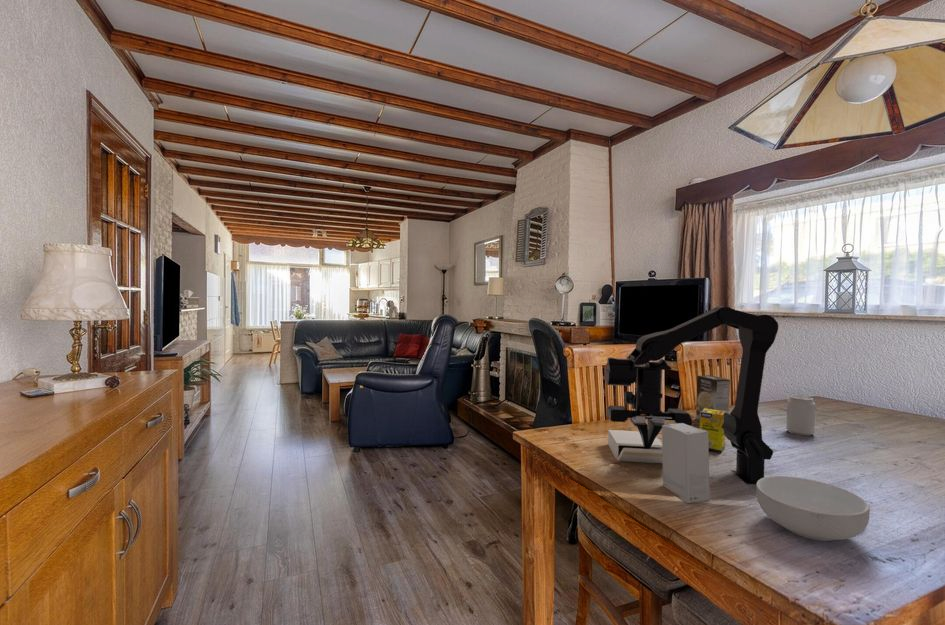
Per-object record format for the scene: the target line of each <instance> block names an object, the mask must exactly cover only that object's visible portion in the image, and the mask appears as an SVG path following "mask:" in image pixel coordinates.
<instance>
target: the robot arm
mask: <svg viewBox="0 0 945 625" xmlns="http://www.w3.org/2000/svg"><path fill="white" fill-rule="evenodd" d="M722 325H725V326H727V327H731V328H734V329H736V330H738V338H739V342H740V345H741V348H742V352H741V353H742V354H741V362H740V367H739V374H738V382H737V388H736V396H735V402H734V407H733V408H732V410H731V412H729V413H726V412H724V422H723V425H722V426H721V428H723V429H724V435H725V438H726V439H727V440H728V441H730V442H729V443H730V444H731V447H732V448H734V449H736V460H735V461H736V462H735V463H736V464H735V466H736V468H735V470H733V469H732V470H730V471H731V472H732V474H734V475H735V476H737V477H738V478H739V479H741V481H742V482H744V483H746V484H747V483H748V484H757V481H758V480H760V479H762V478H764V477H765V461H766V460H771V459H772V457H773V454H774V450H773V449H772V448H771V447H770V446H769V445H768V444H767V443H766V442H765V441H764V440H763V430H762V429H763V427H762V423H761V420H760V416H759V412H758V410H759V404H760V397H761V390H762V384H763V377H764V369H765V362H766V356H767V353H768V351H769V349H770V348H771V347H772V346H773V344H774V343H775V340H776V338H777V335H778V331H779V323H778V321H777V320H776V319H775V317H773V316H772V315H769V314H761V313H760V314H758V313H749V312H745V311H742V310H737V309H735V308H731V307H730V306H722V305H720V306H719V305H718V306H715V307H713V308H712V309H710V310H708V311H707V312H705V313H702V314H700V315H698V316H696V317H694V318H692V319H690V320H687V321H685V322H683V323H681V324H678V325H676V326H674V327H672V328H669V329H667V330H662V331H656V332H653V333H649V334H646V335H642V336H640V337H639V338H638V339H637V340H636V343H635V348H634V349H633V350H632V352H631V353H629V355H628V356H627V357H626V358H615V357H607V359H606V360H607V361H606V365H605V368H604V380H605V381H604V382H605V385H606V386H618V387H620V386H622V387H623V386H624V387H631V386H632V384H634V383H635V382H636V388H635V393H634V392H633V391H626V390H625V391H624V392H623V404H624V405H629V406H630V405H631V409H627V408H626V407H625V406H624V405H611V404H610V405H608V406H607V408H606V409H607V410H606V411H607V412H606V416H607V418H608V419H609V421H610V422H614V423H615V422H617V423H620V422H621V423H625V422H626V421H627V420H628V419H629V421H630V423H631V424H632V425H634V426H635V427H636V428H637V430H638V431H639V432H640V435H641V439H642V442H643V445H644V447H643V449H651V446H652V444H653V442H654V440H655V438H656V437H658V435H659V433H660V432H662V425H666V424H665V422H666V421H674V422H675V424H677V423H684V424H686V425H689V426H693V425H692V422H693V417H692V415H691V414H690V413H689V412H687V411H686V410H685V409H682V408H668V409H667V411H663V410H662V399H663V393H662V388H663V387H662V386H663V385H662V384H663V383H662V382H663V371H665V370H666V371H671V370H672V367H671V366H670V365H669V364H668V363H667V362H666V360H665V359H663V358H664V357H666V356H667V355H669V354H670V353H672V352H673V351H674V350H675V349H676V348H677V347H678V346H680V345H681V344H683V343H685V342H687V341H689V340H692V339H694V338H696V337H699V336H701V335H703V334H705V333H707V332H710V331H712V330H714V329H716V328H718V327H721V326H722ZM646 420H647V423H646Z"/></svg>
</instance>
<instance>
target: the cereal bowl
mask: <svg viewBox="0 0 945 625" xmlns="http://www.w3.org/2000/svg"><path fill="white" fill-rule="evenodd" d="M755 485H756V488H755V489H756V499H757V503H758V504H759V507H760V508H761V510H762V512H764V514H766V516H767V517H768V518H769V519H770V520H772V521H774V522H775V523H776V524H778V525H780V526H781V527H784V528H785V529H787V530H788V531H790V532H791V533H793V534H796V535H798V536H800V537H803V538H806V539H809V540H813V541H818V542H819V541H820V542H832V541H835V540H836V541H839V540H847V539H848V540H849V539H851V538H852V539H853V538H856V537H857V536H859V535H861V534H862V533H863V532H865V530H866V529H867V526H868V525H869V522H870V521H869V520H870V504H868V502H867V501H866V500H865V499H864V498H863V497H861V496H859V495H857V494H855V493H854V492H852V491H849V490H847V489H845V488H842V487H839V486H836V485H833V484H830V483H826V482H823V481H818V480H814V479H809V478H803V477H796V476H786V475H785V476H784V475H772V476H764V478H762V479H760V480H758V481H757V483H755Z"/></svg>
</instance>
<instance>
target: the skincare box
mask: <svg viewBox="0 0 945 625" xmlns="http://www.w3.org/2000/svg"><path fill="white" fill-rule="evenodd" d="M661 436H662V438H661V443H662V453H663V464H662V486H663V487H665V488H666V489H667V490H668V491H671V492H672V493H674V494H675V497H677V499H680V500H681V501H683V502H685V503H687V504H693V503H706V502H707V503H709V502H710V461H709V460H710V455H709V452H710V451H709V448H708V432H707V431H704V430H701V429H700V428H698V427H695V426H693V425H691V426H689V425H686V424H684V423H668V424H665V425H662V429H661Z"/></svg>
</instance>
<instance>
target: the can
mask: <svg viewBox="0 0 945 625" xmlns="http://www.w3.org/2000/svg"><path fill="white" fill-rule="evenodd" d="M786 401H787V402H786V404H787V406H786V426H785V427H786V430H787V431H788V432H789V433H791V434H793V435H797V436H805V437H808V436H812V435H813V434H815V432H816V431H815V430H816V428H815V427H816V405H817V404H816V403H815V401H814V398H812V397H809V396H805V395H797V394H796V395H790V396H789V398H788V399H787V400H786Z"/></svg>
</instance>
